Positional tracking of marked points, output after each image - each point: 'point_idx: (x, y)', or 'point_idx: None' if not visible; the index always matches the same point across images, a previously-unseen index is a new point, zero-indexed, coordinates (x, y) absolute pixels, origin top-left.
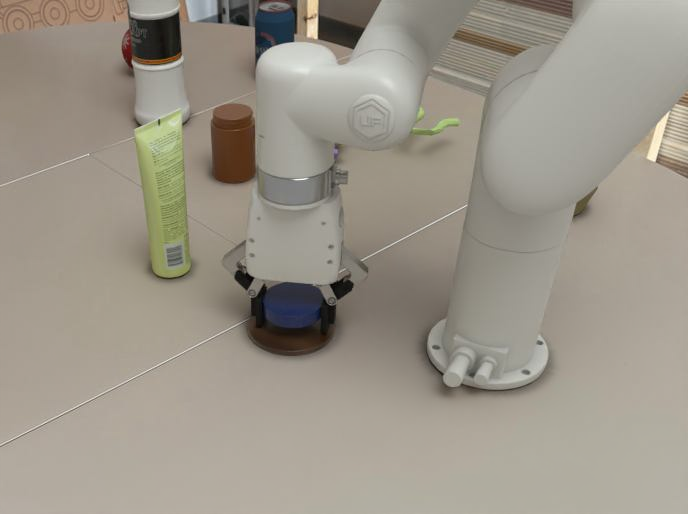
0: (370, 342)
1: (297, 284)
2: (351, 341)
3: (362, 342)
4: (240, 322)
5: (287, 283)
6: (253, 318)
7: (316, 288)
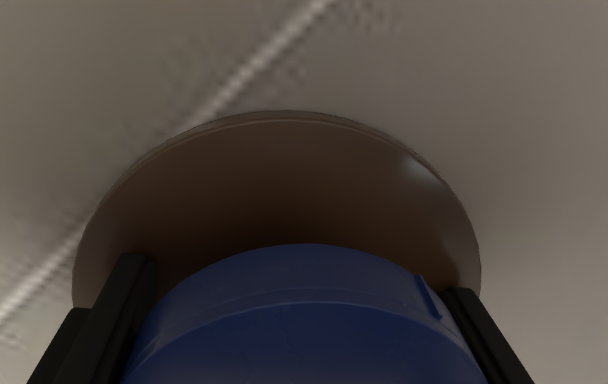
0: (581, 346)
1: (334, 332)
2: (515, 347)
3: (553, 348)
4: (37, 272)
5: (257, 330)
6: (94, 289)
7: (464, 371)
